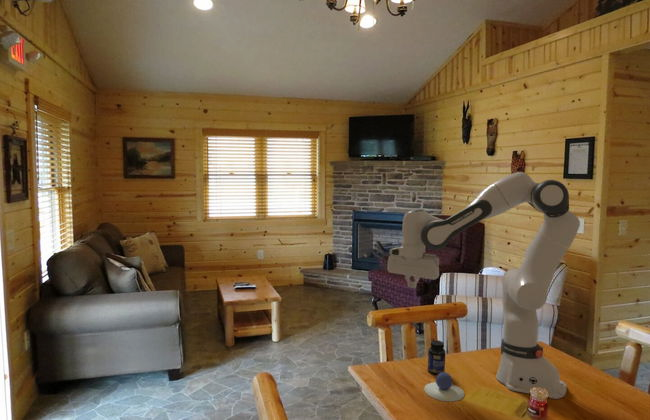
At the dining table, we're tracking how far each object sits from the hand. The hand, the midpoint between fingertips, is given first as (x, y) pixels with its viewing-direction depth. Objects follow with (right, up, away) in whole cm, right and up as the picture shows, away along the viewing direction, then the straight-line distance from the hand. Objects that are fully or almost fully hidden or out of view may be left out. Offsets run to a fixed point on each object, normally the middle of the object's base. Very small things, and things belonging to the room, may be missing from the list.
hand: (412, 287), depth 174 cm
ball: (+7, -29, -20) cm, 36 cm away
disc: (+7, -31, -22) cm, 39 cm away
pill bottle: (+8, -30, -7) cm, 32 cm away
